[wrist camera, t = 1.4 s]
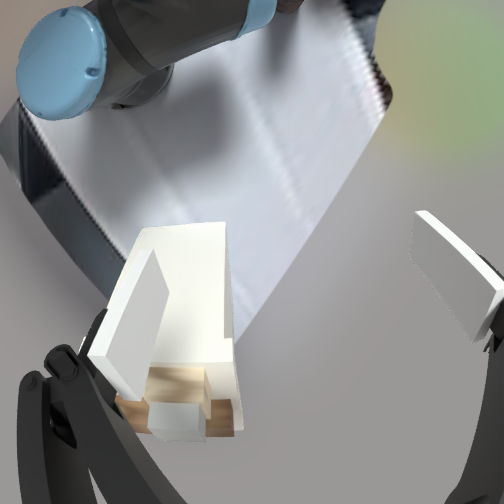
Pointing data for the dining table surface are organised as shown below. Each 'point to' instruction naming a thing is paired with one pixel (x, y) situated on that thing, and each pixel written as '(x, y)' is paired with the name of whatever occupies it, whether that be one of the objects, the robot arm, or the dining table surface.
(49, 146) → the dining table surface
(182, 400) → the birch offcut
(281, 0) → the butter churn
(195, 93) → the dining table surface
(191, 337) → the cream stand
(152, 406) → the grey offcut
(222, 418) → the walnut block
